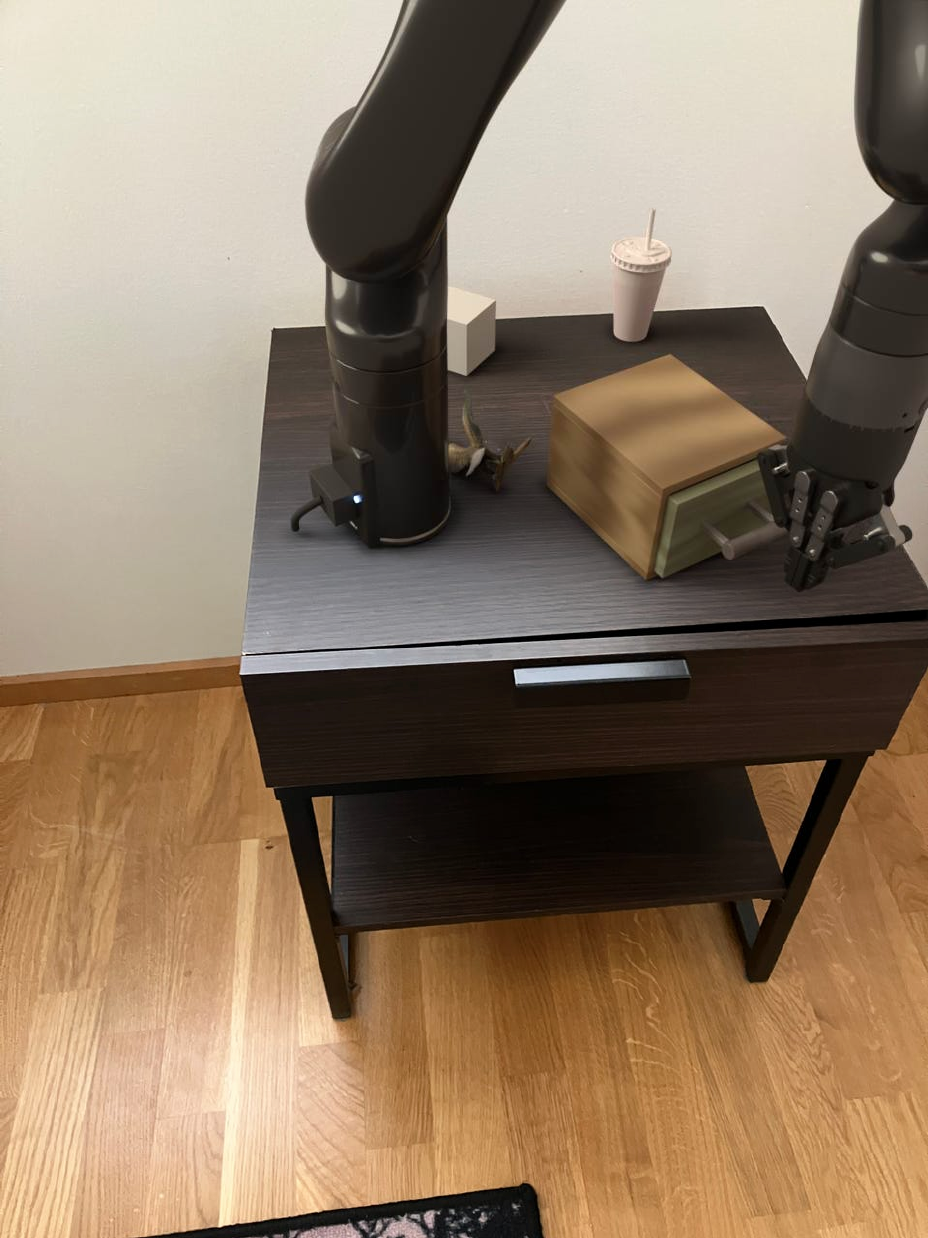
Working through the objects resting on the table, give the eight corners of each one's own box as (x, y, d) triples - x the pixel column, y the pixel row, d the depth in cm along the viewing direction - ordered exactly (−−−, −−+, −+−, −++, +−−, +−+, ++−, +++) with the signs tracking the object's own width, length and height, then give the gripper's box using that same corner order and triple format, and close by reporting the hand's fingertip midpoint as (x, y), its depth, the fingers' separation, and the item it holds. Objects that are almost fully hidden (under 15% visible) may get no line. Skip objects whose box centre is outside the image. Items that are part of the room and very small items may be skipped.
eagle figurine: (541, 455, 90) (473, 402, 93) (525, 425, 84) (453, 369, 87) (488, 516, 91) (422, 462, 94) (468, 491, 84) (398, 433, 87)
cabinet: (760, 528, 85) (787, 437, 78) (645, 580, 80) (663, 488, 73) (654, 442, 94) (670, 353, 87) (546, 485, 89) (553, 394, 82)
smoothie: (656, 350, 105) (677, 225, 95) (598, 344, 106) (612, 219, 96) (660, 321, 110) (680, 198, 99) (604, 315, 110) (618, 192, 100)
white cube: (419, 360, 104) (417, 309, 100) (448, 335, 108) (447, 285, 103) (466, 376, 102) (466, 324, 98) (495, 350, 105) (496, 299, 101)
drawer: (802, 559, 81) (827, 485, 75) (695, 610, 77) (714, 535, 71) (667, 449, 91) (680, 377, 86) (567, 489, 87) (574, 416, 82)
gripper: (751, 360, 64) (705, 551, 77) (908, 463, 56) (829, 657, 69) (831, 329, 67) (775, 519, 79) (992, 423, 59) (901, 617, 72)
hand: (800, 583), depth 74 cm, fingers closed
